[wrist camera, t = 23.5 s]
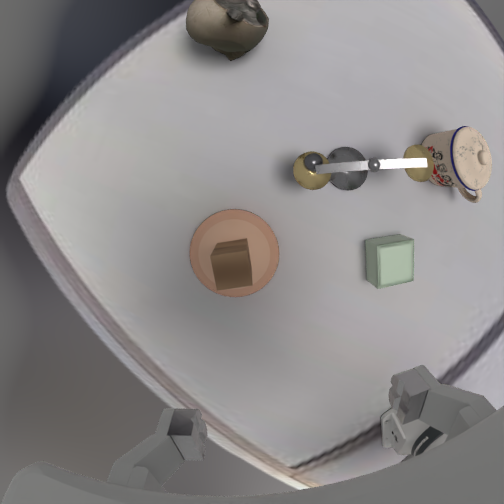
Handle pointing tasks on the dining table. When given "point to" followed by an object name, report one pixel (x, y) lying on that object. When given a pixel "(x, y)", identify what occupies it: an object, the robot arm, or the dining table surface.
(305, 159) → the balance
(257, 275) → the saucer
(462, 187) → the teacup with lid
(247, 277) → the block
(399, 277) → the cover
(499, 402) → the dining table surface
